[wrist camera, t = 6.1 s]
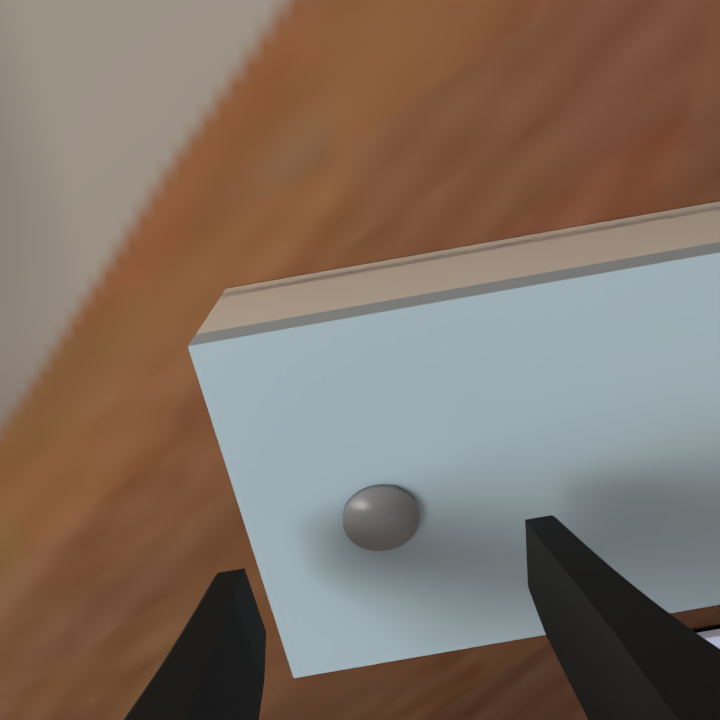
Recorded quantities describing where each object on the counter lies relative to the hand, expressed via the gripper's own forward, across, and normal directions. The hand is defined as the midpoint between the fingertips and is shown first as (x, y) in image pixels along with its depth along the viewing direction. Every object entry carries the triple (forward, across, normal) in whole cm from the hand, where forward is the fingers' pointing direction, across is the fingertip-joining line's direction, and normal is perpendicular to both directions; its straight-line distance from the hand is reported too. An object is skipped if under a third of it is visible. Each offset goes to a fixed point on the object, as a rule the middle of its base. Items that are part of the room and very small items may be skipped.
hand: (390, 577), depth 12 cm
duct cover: (+3, -5, 0) cm, 6 cm away
